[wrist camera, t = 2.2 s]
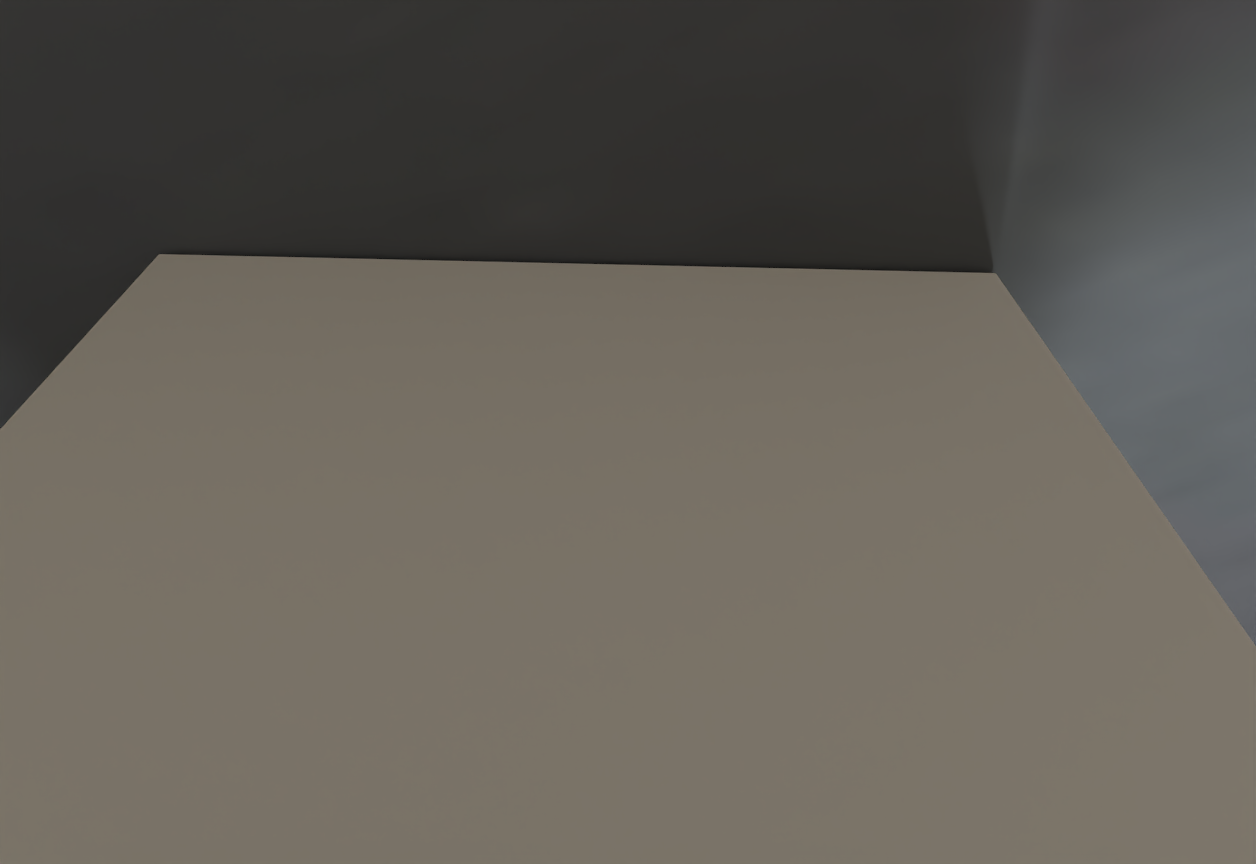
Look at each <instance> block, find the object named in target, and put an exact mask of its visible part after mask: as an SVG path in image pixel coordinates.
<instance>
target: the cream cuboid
mask: <svg viewBox="0 0 1256 864" xmlns="http://www.w3.org/2000/svg"><path fill="white" fill-rule="evenodd" d="M0 864H1256V646H1255V645H1254V643H1253V642H1252V640H1251V639H1250V638H1249V636H1248V635H1247V633H1246V632H1245V630H1244V629H1243V628H1242V626H1241V625H1240V623H1239V622H1238V620H1237V619H1236V617H1235V616H1234V615H1233V613H1232V612H1231V610H1230V609H1229V607H1228V606H1227V605H1226V603H1225V602H1224V600H1223V599H1222V597H1221V596H1220V595H1219V593H1218V592H1217V590H1216V589H1215V587H1214V586H1213V584H1212V583H1211V582H1210V580H1209V579H1208V577H1207V576H1206V574H1205V573H1204V572H1203V570H1202V569H1201V567H1200V566H1199V564H1198V563H1197V561H1196V560H1195V559H1194V557H1193V556H1192V554H1191V553H1190V551H1189V550H1188V549H1187V547H1186V546H1185V544H1184V543H1183V541H1182V540H1181V539H1180V537H1179V536H1178V534H1177V533H1176V531H1175V530H1174V528H1173V527H1172V526H1171V524H1170V523H1169V521H1168V520H1167V518H1166V517H1165V516H1164V514H1163V513H1162V511H1161V510H1160V508H1159V507H1158V505H1157V504H1156V503H1155V501H1154V500H1153V498H1152V497H1151V495H1150V494H1149V493H1148V491H1147V490H1146V488H1145V487H1144V485H1143V484H1142V483H1141V481H1140V480H1139V478H1138V477H1137V475H1136V474H1135V472H1134V471H1133V470H1132V468H1131V467H1130V465H1129V464H1128V462H1127V461H1126V460H1125V458H1124V457H1123V455H1122V454H1121V452H1120V451H1119V449H1118V448H1117V447H1116V445H1115V444H1114V442H1113V441H1112V439H1111V438H1110V437H1109V435H1108V434H1107V432H1106V431H1105V429H1104V428H1103V427H1102V425H1101V424H1100V422H1099V421H1098V419H1097V418H1096V416H1095V415H1094V414H1093V412H1092V411H1091V409H1090V408H1089V406H1088V405H1087V404H1086V402H1085V401H1084V399H1083V398H1082V396H1081V395H1080V393H1079V392H1078V391H1077V389H1076V388H1075V386H1074V385H1073V383H1072V382H1071V381H1070V379H1069V378H1068V376H1067V375H1066V373H1065V372H1064V371H1063V369H1062V368H1061V366H1060V365H1059V363H1058V362H1057V360H1056V359H1055V358H1054V356H1053V355H1052V353H1051V352H1050V350H1049V349H1048V348H1047V346H1046V345H1045V343H1044V342H1043V340H1042V339H1041V337H1040V336H1039V335H1038V333H1037V332H1036V330H1035V329H1034V327H1033V326H1032V325H1031V323H1030V322H1029V320H1028V319H1027V317H1026V316H1025V315H1024V313H1023V312H1022V310H1021V309H1020V307H1019V306H1018V304H1017V303H1016V302H1015V300H1014V299H1013V297H1012V296H1011V294H1010V293H1009V292H1008V290H1007V289H1006V287H1005V286H1004V284H1003V283H1002V281H1001V280H1000V279H999V277H998V276H997V274H996V273H969V272H925V271H881V270H837V269H793V268H748V267H704V266H660V265H616V264H572V263H528V262H484V261H440V260H396V259H352V258H308V257H264V256H220V255H176V254H159V255H158V256H157V257H156V258H155V259H154V260H153V261H152V263H151V264H150V265H149V266H148V267H147V268H146V269H145V270H144V271H143V272H142V274H141V275H140V276H139V277H138V278H137V279H136V280H135V281H134V282H133V283H132V285H131V286H130V287H129V288H128V289H127V290H126V291H125V292H124V293H123V294H122V296H121V297H120V298H119V299H118V300H117V301H116V302H115V303H114V304H113V306H112V307H111V308H110V309H109V310H108V311H107V312H106V313H105V314H104V315H103V317H102V318H101V319H100V320H99V321H98V322H97V323H96V324H95V325H94V326H93V328H92V329H91V330H90V331H89V332H88V333H87V334H86V335H85V336H84V337H83V339H82V340H81V341H80V342H79V343H78V344H77V345H76V346H75V347H74V349H73V350H72V351H71V352H70V353H69V354H68V355H67V356H66V357H65V358H64V360H63V361H62V362H61V363H60V364H59V365H58V366H57V367H56V368H55V369H54V371H53V372H52V373H51V374H50V375H49V376H48V377H47V378H46V379H45V380H44V382H43V383H42V384H41V385H40V386H39V387H38V388H37V389H36V390H35V392H34V393H33V394H32V395H31V396H30V397H29V398H28V399H27V400H26V401H25V403H24V404H23V405H22V406H21V407H20V408H19V409H18V410H17V411H16V412H15V414H14V415H13V416H12V417H11V418H10V419H9V420H8V421H7V422H6V423H5V425H4V426H3V427H2V428H1V429H0Z"/></svg>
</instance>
